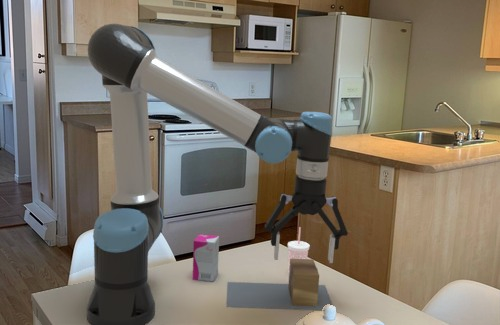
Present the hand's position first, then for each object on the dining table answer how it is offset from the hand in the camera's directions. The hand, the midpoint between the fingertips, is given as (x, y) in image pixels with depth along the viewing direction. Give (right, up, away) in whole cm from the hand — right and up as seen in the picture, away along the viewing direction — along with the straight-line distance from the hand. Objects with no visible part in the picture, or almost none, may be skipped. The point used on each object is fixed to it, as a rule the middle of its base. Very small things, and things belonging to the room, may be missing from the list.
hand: (303, 259), depth 129 cm
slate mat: (-6, -10, +2) cm, 12 cm away
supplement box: (-25, -7, +11) cm, 29 cm away
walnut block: (0, -10, +2) cm, 10 cm away
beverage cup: (0, -7, +16) cm, 18 cm away
